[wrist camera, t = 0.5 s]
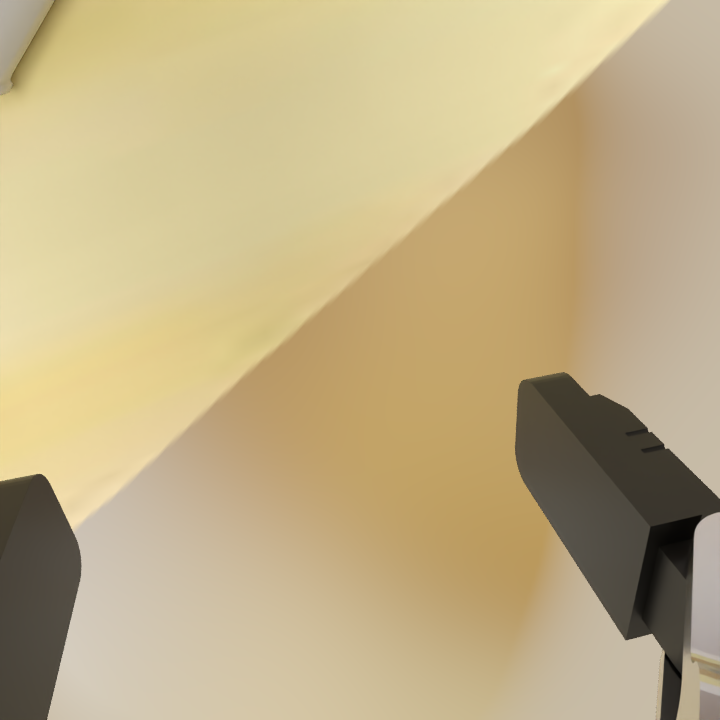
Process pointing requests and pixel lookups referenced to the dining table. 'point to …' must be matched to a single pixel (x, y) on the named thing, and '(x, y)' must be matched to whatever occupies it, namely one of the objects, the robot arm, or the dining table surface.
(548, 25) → the dining table surface
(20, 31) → the tube
